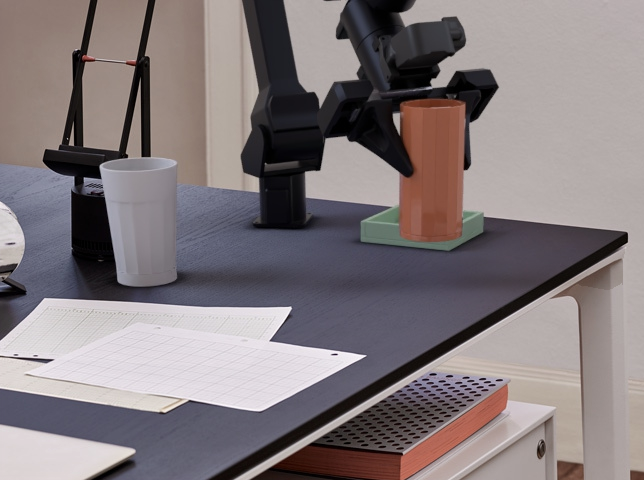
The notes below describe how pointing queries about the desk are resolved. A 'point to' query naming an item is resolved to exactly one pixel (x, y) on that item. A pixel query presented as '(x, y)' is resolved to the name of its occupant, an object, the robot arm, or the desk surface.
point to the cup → (142, 218)
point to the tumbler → (432, 169)
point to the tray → (387, 232)
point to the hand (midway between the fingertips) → (439, 171)
